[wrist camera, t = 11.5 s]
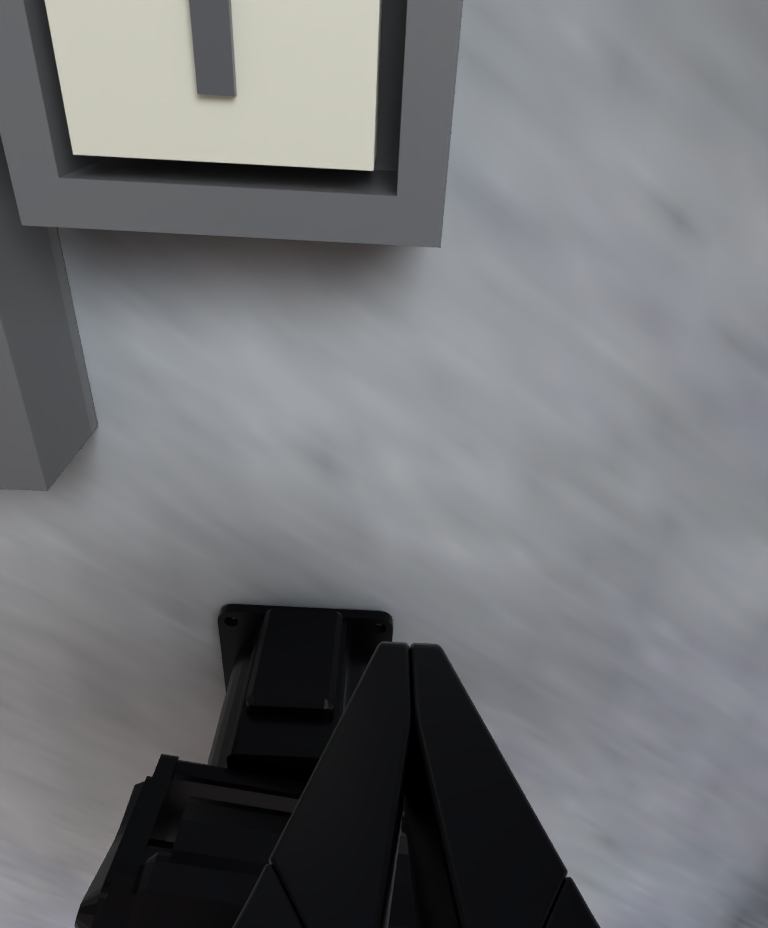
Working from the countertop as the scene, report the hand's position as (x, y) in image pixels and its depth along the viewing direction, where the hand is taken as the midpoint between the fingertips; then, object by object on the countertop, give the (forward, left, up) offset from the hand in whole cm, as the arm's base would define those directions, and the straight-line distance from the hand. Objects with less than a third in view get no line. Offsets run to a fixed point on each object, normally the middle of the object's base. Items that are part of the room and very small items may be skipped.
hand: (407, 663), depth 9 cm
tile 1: (+8, +4, -10) cm, 14 cm away
